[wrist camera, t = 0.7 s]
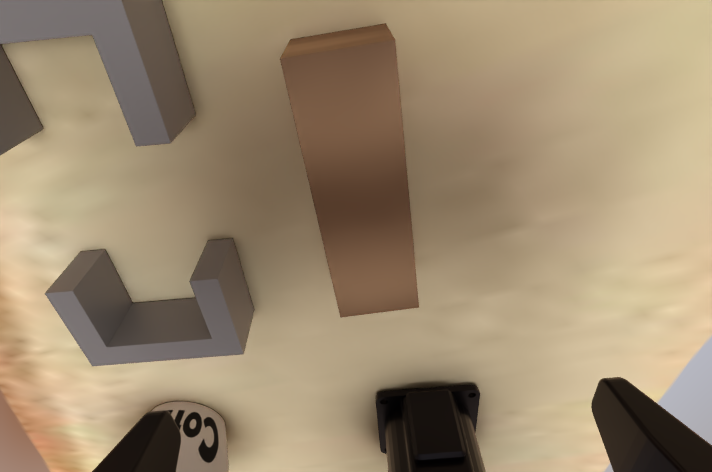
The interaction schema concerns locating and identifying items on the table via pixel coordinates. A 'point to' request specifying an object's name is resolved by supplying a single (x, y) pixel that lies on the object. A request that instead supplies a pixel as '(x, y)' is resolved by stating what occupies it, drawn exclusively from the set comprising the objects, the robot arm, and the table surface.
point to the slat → (356, 163)
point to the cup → (199, 437)
